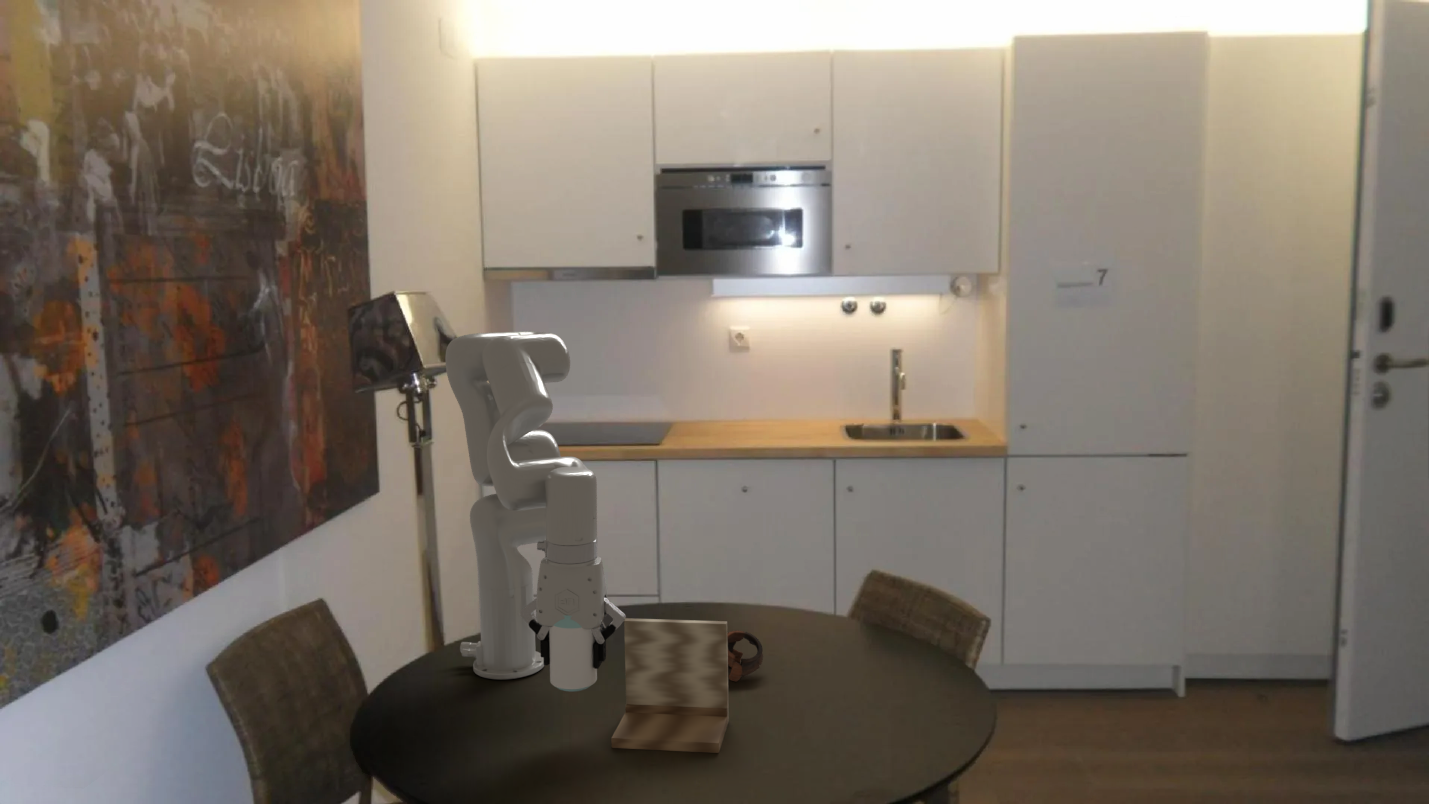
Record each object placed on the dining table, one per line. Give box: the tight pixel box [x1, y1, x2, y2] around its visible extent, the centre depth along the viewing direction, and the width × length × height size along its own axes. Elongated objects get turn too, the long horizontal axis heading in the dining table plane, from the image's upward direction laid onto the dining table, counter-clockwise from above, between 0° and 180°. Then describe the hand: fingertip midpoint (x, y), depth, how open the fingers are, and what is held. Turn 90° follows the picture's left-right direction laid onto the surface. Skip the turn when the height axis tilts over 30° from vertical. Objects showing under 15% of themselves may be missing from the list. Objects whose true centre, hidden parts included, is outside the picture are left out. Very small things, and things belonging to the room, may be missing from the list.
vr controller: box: [727, 630, 764, 683], centre depth 182 cm, size 12×10×8 cm
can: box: [549, 615, 598, 692], centre depth 158 cm, size 7×7×12 cm
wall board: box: [610, 617, 730, 754], centre depth 157 cm, size 16×11×16 cm
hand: (573, 662), depth 158 cm, fingers closed on can, 7 cm apart
